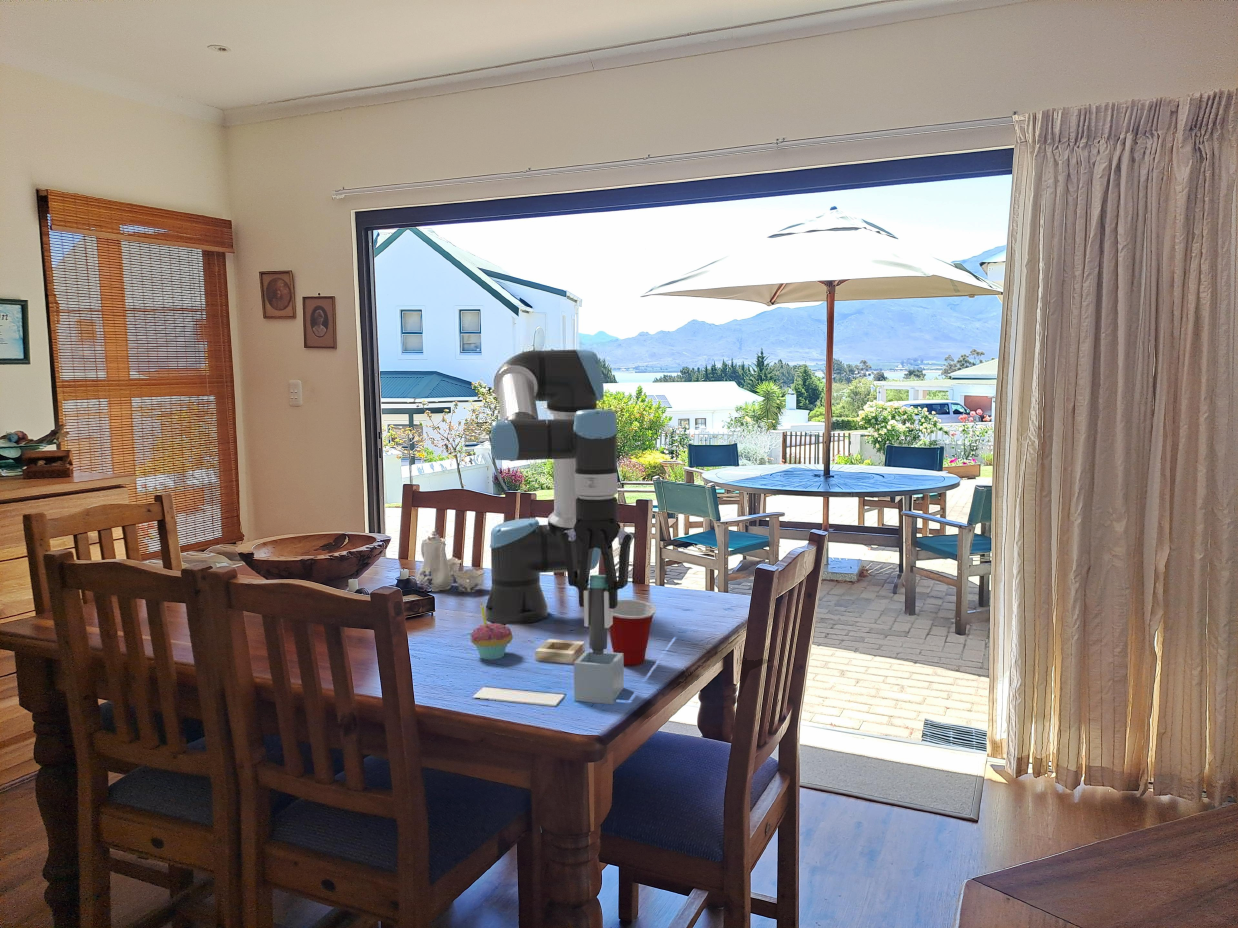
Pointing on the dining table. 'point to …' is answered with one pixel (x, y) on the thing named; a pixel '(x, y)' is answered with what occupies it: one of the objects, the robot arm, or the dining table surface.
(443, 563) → the chinaware
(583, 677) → the pen pot
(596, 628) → the marker
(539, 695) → the paper
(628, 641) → the plastic cup
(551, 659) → the marker stand
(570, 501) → the robot arm
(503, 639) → the cupcake
